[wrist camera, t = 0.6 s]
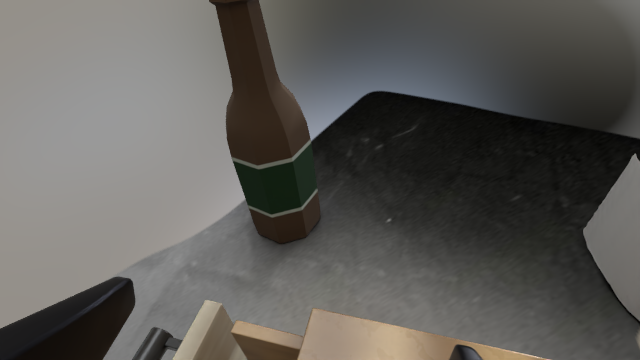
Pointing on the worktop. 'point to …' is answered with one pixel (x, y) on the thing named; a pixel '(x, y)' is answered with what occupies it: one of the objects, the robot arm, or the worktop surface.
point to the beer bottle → (266, 130)
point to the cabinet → (382, 341)
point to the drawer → (221, 340)
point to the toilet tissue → (619, 237)
